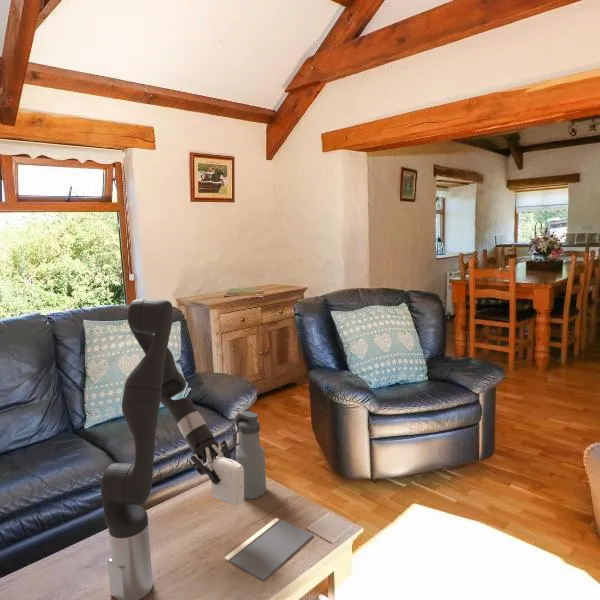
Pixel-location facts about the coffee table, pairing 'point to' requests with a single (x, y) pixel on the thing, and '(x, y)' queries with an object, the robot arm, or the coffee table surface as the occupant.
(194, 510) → the coffee table surface
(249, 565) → the mat
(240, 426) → the water bottle
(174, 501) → the coffee table surface
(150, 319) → the robot arm
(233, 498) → the photo printer
